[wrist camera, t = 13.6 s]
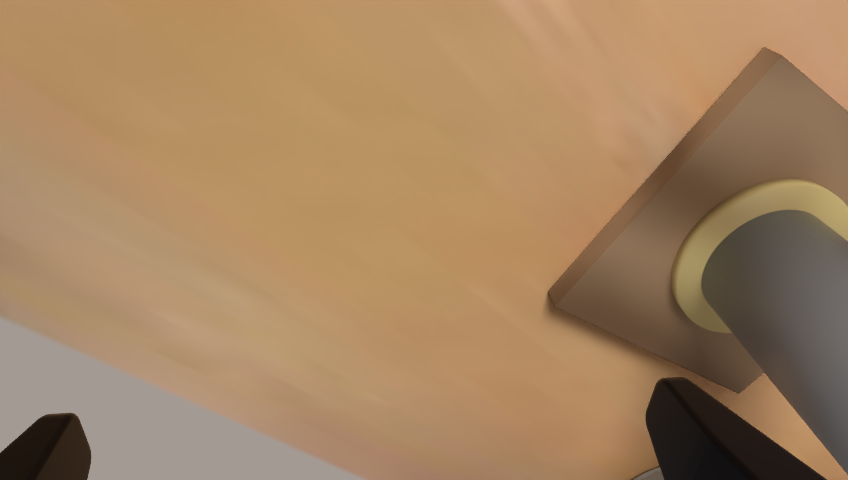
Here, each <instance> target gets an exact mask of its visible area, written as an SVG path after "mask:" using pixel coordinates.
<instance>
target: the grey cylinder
mask: <svg viewBox="0 0 848 480" xmlns="http://www.w3.org/2000/svg"><path fill="white" fill-rule="evenodd" d="M701 288H702V293H703V295H704V298H705V300H706V301H707V302H708V304H709V305H710V306H711V308H712V309H713V310H714V311H715V312H716V314H717V315H718V316H719V317H720V319H721V320H722V321H723V322H724V323H725V325H726V326H727V327H728V328H729V330H730V331H731V332H732V333H733V335H734V336H735V337H736V338H737V339H738V341H739V342H740V343H741V344H742V346H743V347H744V348H745V349H746V350H747V352H748V353H749V354H750V355H751V357H752V358H753V359H754V360H755V362H756V363H757V364H758V365H759V366H760V368H761V369H762V370H763V371H764V373H765V374H766V375H767V376H768V377H769V379H770V380H771V381H772V382H773V384H774V385H775V386H776V387H777V388H778V390H779V391H780V392H781V393H782V395H783V396H784V397H785V398H786V400H787V401H788V402H789V403H790V404H791V406H792V407H793V408H794V409H795V411H796V412H797V413H798V414H799V415H800V417H801V418H802V419H803V420H804V422H805V423H806V424H807V425H808V427H809V428H810V429H811V430H812V431H813V433H814V434H815V435H816V436H817V438H818V439H819V440H820V441H821V442H822V444H823V445H824V446H825V447H826V449H827V450H828V451H829V452H830V454H831V455H832V456H833V457H834V458H835V460H836V461H837V462H838V463H839V465H840V466H841V467H842V468H843V469H844V471H845V472H846V473H847V474H848V241H847V240H846V239H844V238H843V237H842V236H841V235H839V234H838V233H837V232H835V231H834V230H833V229H831V228H830V227H829V226H828V225H826V224H825V223H824V222H822V221H821V220H820V219H819V218H817V217H816V216H814V215H812V214H811V213H808V212H805V211H800V210H779V211H774V212H770V213H767V214H764V215H761V216H758V217H756V218H754V219H752V220H750V221H748V222H746V223H744V224H743V225H741V226H740V227H738V228H737V229H735V230H734V231H733V232H731V233H730V234H729V235H728V236H727V237H726V238H725V239H723V240H722V242H721V243H720V244H719V245H718V246H717V247H716V248H715V250H714V251H713V253H712V254H711V256H710V257H709V259H708V261H707V263H706V265H705V267H704V271H703V274H702V280H701Z"/></svg>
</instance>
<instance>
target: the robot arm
mask: <svg viewBox="0 0 848 480" xmlns="http://www.w3.org/2000/svg"><path fill="white" fill-rule="evenodd" d="M646 425H647V429H648V432H649V435H650V438H651V441H652V444H653V447H654V450H655V453H656V456H657V460H658V463H659V466H660V469H661V472H662V475H663V478H664V480H827V479H825V478H824V477H823V476H821V475H820V474H818V473H817V472H816V471H814V470H813V469H812V468H810V467H809V466H807V465H806V464H805V463H803V462H802V461H800V460H799V459H798V458H796V457H795V456H793V455H792V454H791V453H789V452H788V451H787V450H785V449H784V448H782V447H781V446H780V445H778V444H777V443H775V442H774V441H773V440H771V439H770V438H769V437H767V436H766V435H764V434H763V433H762V432H760V431H759V430H757V429H756V428H755V427H753V426H752V425H750V424H749V423H748V422H746V421H745V420H744V419H742V418H741V417H739V416H738V415H737V414H735V413H734V412H732V411H731V410H730V409H728V408H727V407H726V406H724V405H723V404H721V403H720V402H719V401H717V400H716V399H714V398H713V397H712V396H710V395H709V394H707V393H706V392H705V391H703V390H702V389H701V388H699V387H698V386H696V385H695V384H694V383H692V382H691V381H689V380H688V379H686V378H683V377H673V378H662V379H660V380H659V381H658V382H657V383H656V386H655V388H654V391H653V394H652V397H651V399H650V402H649V405H648V407H647V410H646ZM90 464H91V450H90V446H89V444H88V441H87V438H86V436H85V433H84V430H83V428H82V425H81V423H80V420H79V418H78V416H76V415H75V414H73V413H60V414H48V415H45V416H43V417H41V418H39V419H38V420H37V421H36V422H35V423H34V424H32V426H30V427H29V428H28V429H27V430H26V431H25V432H23V433H22V434H21V435H20V436H19V437H18V438H17V439H15V440H14V441H13V442H12V443H11V444H10V445H9V446H8V447H7V448H5V449H4V450H3V451H2V452H1V453H0V480H87V478H88V474H89V469H90Z"/></svg>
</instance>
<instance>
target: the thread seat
mask: <svg viewBox="0 0 848 480" xmlns="http://www.w3.org/2000/svg"><path fill="white" fill-rule="evenodd" d="M779 210H800V211H805V212H808V213H811V214H812V215H814V216H816V217H817V218H819V219H820V220H821V221H822V222H824V223H825V224H826V225H828V226H829V227H830V228H831V229H833V230H834V231H835V232H837V233H838V234H839V235H841V236H842V237H843V238H844V239H846V240H847V241H848V111H847V110H845V109H844V108H843V107H842V106H841V105H840V104H838V103H837V102H836V101H835V100H834V99H832V98H831V97H830V96H829V95H828V94H827V93H825V92H824V91H823V90H822V89H821V88H820V87H818V86H817V85H816V84H815V83H814V82H813V81H811V80H810V79H809V78H808V77H807V76H806V75H804V74H803V73H802V72H801V71H800V70H799V69H797V68H796V67H795V66H794V65H793V64H792V63H790V62H789V61H788V60H787V59H786V58H785V57H783V56H782V55H780V54H778V53H776V52H774V51H772V50H770V49H767V48H765V47H764V48H763V49H762V50H761V51H760V53H759V54H758V55H757V56H756V57H755V58H754V59H753V61H752V62H751V63H750V64H749V65H748V66H747V67H746V68H745V70H744V71H743V72H742V73H741V74H740V75H739V76H738V77H737V79H736V80H735V81H734V82H733V83H732V84H731V85H730V87H729V88H728V89H727V90H726V91H725V92H724V93H723V94H722V96H721V97H720V98H719V99H718V100H717V101H716V102H715V103H714V105H713V106H712V107H711V108H710V109H709V110H708V111H707V113H706V114H705V115H704V116H703V117H702V118H701V119H700V120H699V122H698V123H697V124H696V125H695V126H694V127H693V128H692V129H691V131H690V132H689V133H688V134H687V135H686V136H685V137H684V138H683V140H682V141H681V142H680V143H679V144H678V145H677V146H676V148H675V149H674V150H673V151H672V152H671V153H670V154H669V155H668V157H667V158H666V159H665V160H664V161H663V162H662V163H661V164H660V166H659V167H658V168H657V169H656V170H655V171H654V172H653V174H652V175H651V176H650V177H649V178H648V179H647V180H646V181H645V183H644V184H643V185H642V186H641V187H640V188H639V189H638V190H637V192H636V193H635V194H634V195H633V196H632V197H631V198H630V200H629V201H628V202H627V203H626V204H625V205H624V206H623V207H622V209H621V210H620V211H619V212H618V213H617V214H616V215H615V216H614V218H613V219H612V220H611V221H610V222H609V223H608V224H607V225H606V227H605V228H604V229H603V230H602V231H601V232H600V233H599V235H598V236H597V237H596V238H595V239H594V240H593V241H592V242H591V244H590V245H589V246H588V247H587V248H586V249H585V250H584V251H583V253H582V254H581V255H580V256H579V257H578V258H577V259H576V261H575V262H574V263H573V264H572V265H571V266H570V267H569V268H568V270H567V271H566V272H565V273H564V274H563V275H562V276H561V277H560V279H559V280H558V281H557V282H556V283H555V284H554V285H553V287H552V288H551V289H550V290H549V291H548V293H549V295H550V298H551V300H552V302H553V304H554V306H555V307H556V308H558V309H561V310H563V311H565V312H567V313H569V314H571V315H573V316H575V317H577V318H580V319H582V320H584V321H586V322H588V323H590V324H592V325H594V326H597V327H599V328H601V329H603V330H605V331H607V332H609V333H611V334H613V335H616V336H618V337H620V338H622V339H624V340H626V341H628V342H630V343H632V344H635V345H637V346H639V347H641V348H643V349H645V350H647V351H649V352H651V353H654V354H656V355H658V356H660V357H662V358H664V359H666V360H668V361H671V362H673V363H675V364H677V365H679V366H681V367H683V368H685V369H687V370H690V371H692V372H694V373H696V374H698V375H700V376H702V377H704V378H706V379H709V380H711V381H713V382H715V383H717V384H719V385H721V386H723V387H726V388H728V389H730V390H732V391H734V392H736V393H738V394H739V393H740V392H741V391H743V390H744V389H745V388H746V387H747V386H749V385H750V384H751V383H752V382H753V381H754V380H756V379H757V378H758V377H759V376H760V375H762V374H763V373H764V371H763V370H762V369H761V368H760V366H759V365H758V364H757V363H756V362H755V360H754V359H753V358H752V357H751V355H750V354H749V353H748V352H747V350H746V349H745V348H744V347H743V346H742V344H741V343H740V342H739V341H738V339H737V338H736V337H735V336H734V335H733V333H732V332H731V331H730V330H729V328H728V327H727V326H726V325H725V323H724V322H723V321H722V320H721V319H720V317H719V316H718V315H717V314H716V312H715V311H714V310H713V309H712V308H711V306H710V305H709V304H708V302H707V301H706V300H705V298H704V295H703V293H702V288H701V280H702V274H703V271H704V267H705V265H706V263H707V261H708V259H709V257H710V256H711V254H712V253H713V251H714V250H715V248H716V247H717V246H718V245H719V244H720V243H721V242H722V240H723V239H725V238H726V237H727V236H728V235H729V234H730V233H731V232H733V231H734V230H735V229H737V228H738V227H740V226H741V225H743V224H744V223H746V222H748V221H750V220H752V219H754V218H756V217H758V216H761V215H764V214H767V213H770V212H774V211H779Z"/></svg>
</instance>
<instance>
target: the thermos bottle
mask: <svg viewBox="0 0 848 480" xmlns="http://www.w3.org/2000/svg"><path fill="white" fill-rule="evenodd" d="M632 480H664V478H663V475H662V472H661V469H660V467H657V468H654V469H652V470H650V471H647V472H645V473H643V474H641V475H639V476H638V477H636V478H634V479H632Z"/></svg>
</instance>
